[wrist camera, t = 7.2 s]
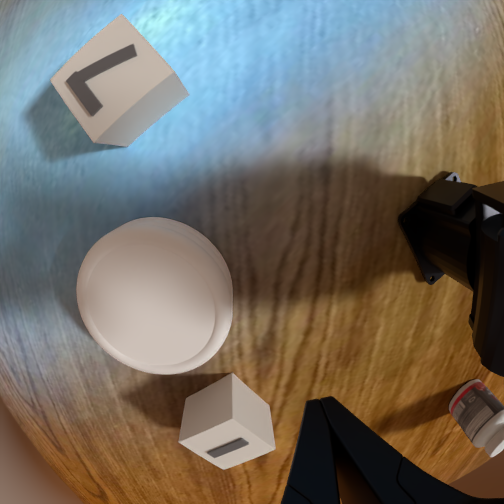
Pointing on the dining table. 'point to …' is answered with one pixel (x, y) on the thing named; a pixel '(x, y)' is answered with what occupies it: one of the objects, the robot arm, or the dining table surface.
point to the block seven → (118, 85)
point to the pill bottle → (479, 416)
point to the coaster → (156, 295)
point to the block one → (227, 423)
